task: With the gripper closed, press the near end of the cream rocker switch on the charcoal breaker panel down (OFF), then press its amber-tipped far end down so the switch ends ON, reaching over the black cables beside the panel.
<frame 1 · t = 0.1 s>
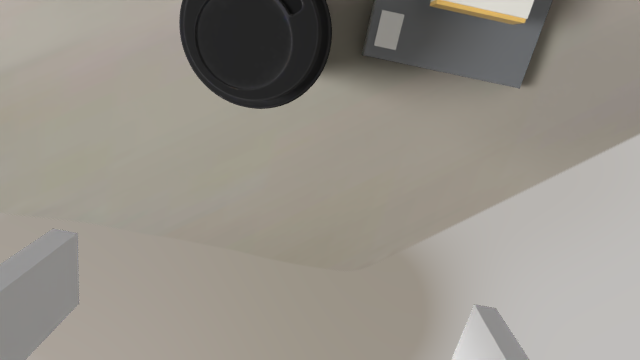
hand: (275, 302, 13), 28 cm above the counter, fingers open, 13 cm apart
coffee cup: (280, 37, 36), on the counter
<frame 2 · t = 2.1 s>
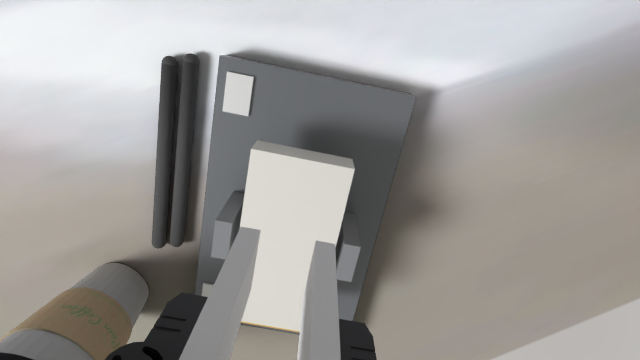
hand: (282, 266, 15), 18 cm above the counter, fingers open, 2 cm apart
coffee cup: (119, 287, 37), on the counter
rocker: (286, 243, 28), point 6 cm above the counter, hinge at 0.0°
cords: (185, 156, 32), on the counter
breaker panel: (293, 209, 34), on the counter
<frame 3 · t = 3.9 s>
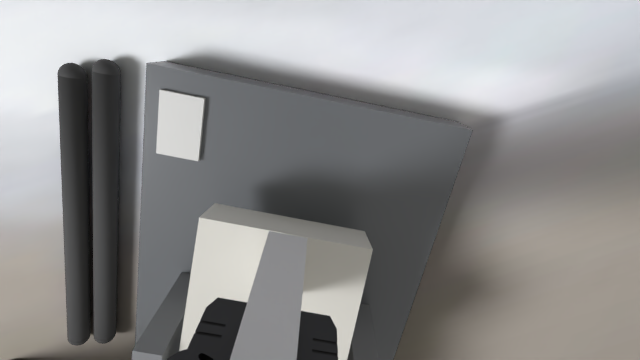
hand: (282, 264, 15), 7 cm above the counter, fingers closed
cords: (111, 214, 21), on the counter
breaker panel: (276, 288, 23), on the counter
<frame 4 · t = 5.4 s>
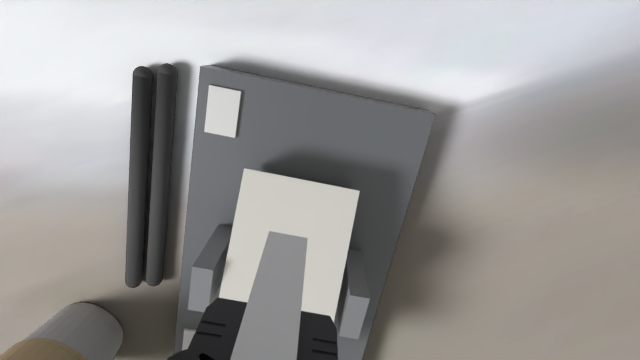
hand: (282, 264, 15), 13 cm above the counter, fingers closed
coffee cup: (90, 329, 33), on the counter
rocker: (280, 291, 24), point 6 cm above the counter, hinge at -18.5°
cords: (163, 182, 28), on the counter
breaker panel: (289, 242, 29), on the counter
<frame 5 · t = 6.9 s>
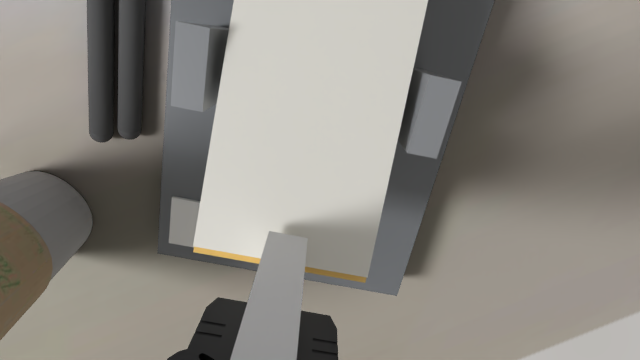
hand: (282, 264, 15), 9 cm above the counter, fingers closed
coffee cup: (48, 213, 24), on the counter
rocker: (314, 92, 15), point 6 cm above the counter, hinge at -14.4°, touching gripper
breaker panel: (317, 75, 21), on the counter
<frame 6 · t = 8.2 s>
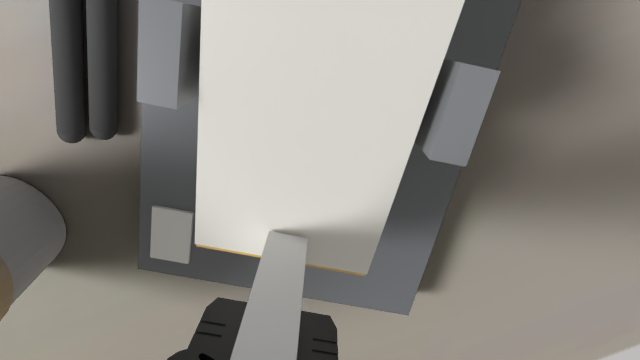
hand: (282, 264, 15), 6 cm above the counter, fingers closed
coffee cup: (16, 222, 22), on the counter
rocker: (315, 85, 13), point 6 cm above the counter, hinge at 9.3°, touching gripper
breaker panel: (319, 65, 18), on the counter
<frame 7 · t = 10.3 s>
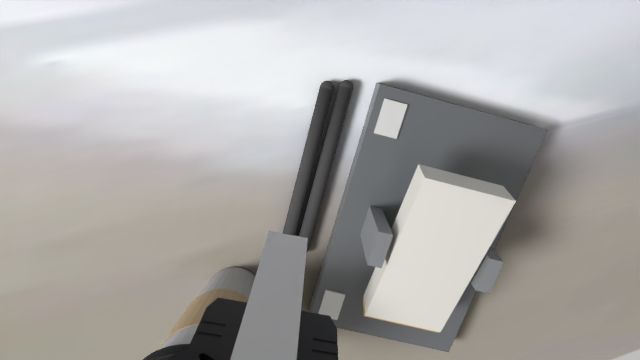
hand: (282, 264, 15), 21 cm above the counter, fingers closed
coffee cup: (235, 291, 39), on the counter
rocker: (429, 255, 31), point 6 cm above the counter, hinge at 9.7°
cords: (322, 171, 35), on the counter
breaker panel: (413, 224, 37), on the counter
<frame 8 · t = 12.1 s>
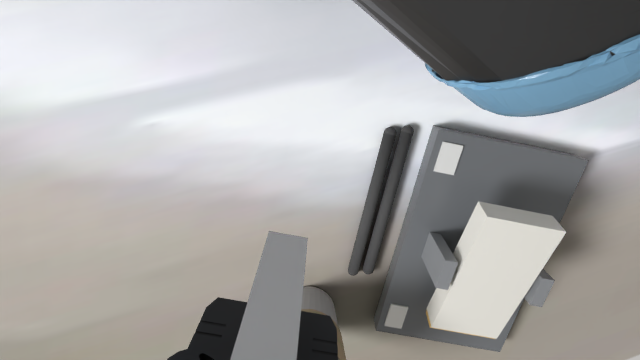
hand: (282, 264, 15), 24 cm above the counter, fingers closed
coffee cup: (308, 306, 45), on the counter
rocker: (487, 276, 36), point 6 cm above the counter, hinge at 9.7°
cords: (385, 202, 40), on the counter
breaker panel: (466, 243, 42), on the counter
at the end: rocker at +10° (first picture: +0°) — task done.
